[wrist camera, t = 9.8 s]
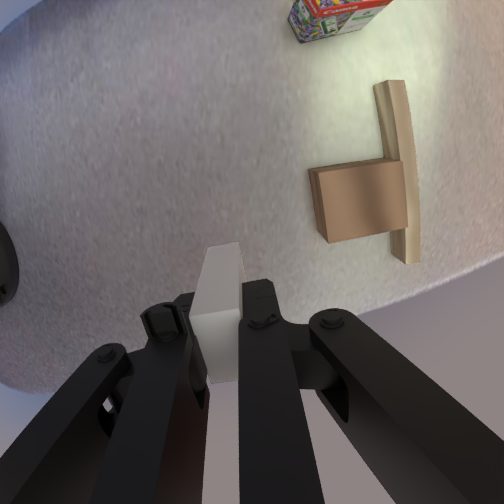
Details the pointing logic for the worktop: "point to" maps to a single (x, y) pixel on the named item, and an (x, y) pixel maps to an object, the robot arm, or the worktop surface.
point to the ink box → (331, 16)
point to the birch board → (403, 148)
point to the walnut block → (359, 198)
